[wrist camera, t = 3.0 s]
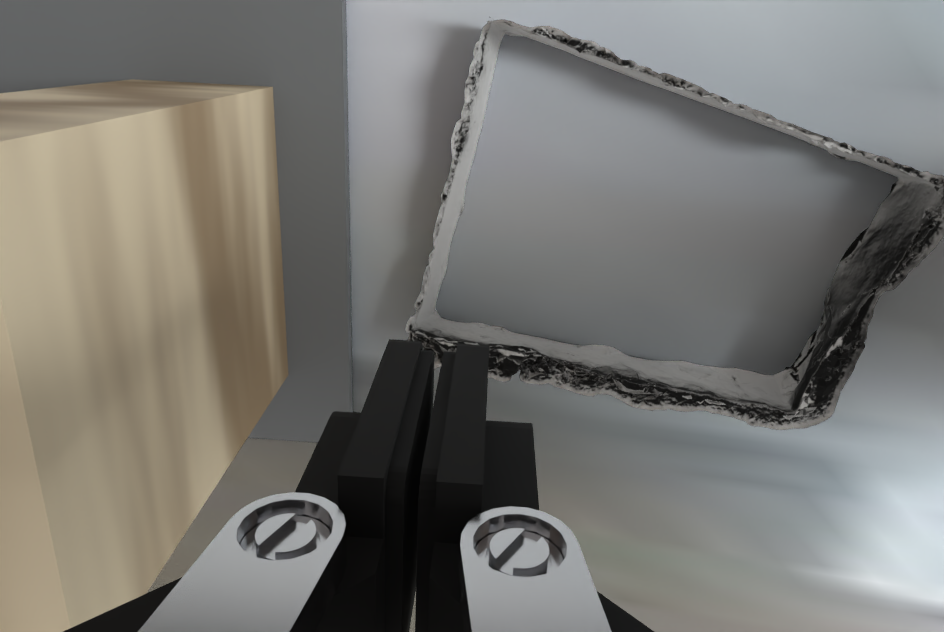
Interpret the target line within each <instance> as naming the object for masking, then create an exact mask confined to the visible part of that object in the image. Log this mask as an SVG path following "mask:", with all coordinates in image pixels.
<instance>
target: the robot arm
mask: <svg viewBox="0 0 944 632" xmlns="http://www.w3.org/2000/svg"><path fill="white" fill-rule="evenodd" d="M488 362H489V346H488V345H472V344H457V348H456V352H447V351H444V353H443V359H442V364H441V369H440V374H439V380H438V385H437V390H436V395H435V401H434V406H433V388H434V351H430V350H423V344H422V342H421V341H405V340H389V341H388V344H387V347H386V349H385V352H384V354H383V357H382V360H381V362H380V365H379V368H378V370H377V373H376V375H375V378H374V381H373V383H372V386H371V389H370V391H369V394H368V396H367V399H366V402H365V404H364V407H363V410H362V412H361V413H358V412H342V411H334V412H333V413H332V414H331V416H330V418H329V420H328V422H327V424H326V426H325V428H324V431H323V433H322V435H321V437H320V439H319V441H318V444H317V446H316V448H315V450H314V452H313V454H312V457H311V459H310V461H309V463H308V465H307V468H306V470H305V472H304V474H303V476H302V478H301V481H300V483H299V485H298V487H297V489H296V491H295V492H290V493H282V494H274V495H271V496H268V497H265V498H261V499H258V500H256V501H254V502H252V503H250V504H249V505H247V506H245V507H243V508H242V509H240V510H239V511H238V512H237V513H236V514H235V515H234V516H233V517H232V518H231V519H230V520H229V521H228V522H227V523H226V525H225V526H224V527H223V528H222V530H221V531H220V532H219V533H218V534H217V536H216V537H215V538H214V539H213V541H212V542H211V543H210V544H209V545H208V547H207V548H206V549H205V550H204V552H203V553H202V554H201V555H200V556H199V558H198V559H197V560H196V561H195V563H194V564H193V565H192V566H191V567H190V569H189V570H188V571H187V572H186V574H185V575H184V576H183V577H182V578H180V579H177V580H175V581H173V582H171V583H169V584H166V585H164V586H162V587H160V588H158V589H155V590H153V591H151V592H149V593H147V594H144V595H142V596H140V597H138V598H136V599H133V600H131V601H129V602H127V603H125V604H122V605H120V606H118V607H116V608H114V609H111V610H109V611H107V612H105V613H103V614H101V615H98V616H96V617H94V618H92V619H90V620H87V621H85V622H83V623H81V624H79V625H76V626H74V627H72V628H70V629H68V630H65V631H63V632H409V628H410V622H411V616H412V609H413V603H414V597H415V591H416V622H415V632H654V631H652V630H651V629H650V628H648V627H647V626H645V625H644V624H643V623H641V622H640V621H638V620H637V619H635V618H634V617H633V616H631V615H630V614H628V613H627V612H626V611H624V610H623V609H621V608H620V607H619V606H617V605H616V604H614V603H613V602H611V601H610V600H609V599H607V598H606V597H604V596H603V595H602V594H600V593H599V592H597V591H596V588H595V586H594V583H593V580H592V577H591V575H590V572H589V569H588V567H587V564H586V561H585V559H584V556H583V553H582V550H581V548H580V545H579V542H578V540H577V539H576V537H575V535H574V534H573V532H572V530H571V529H570V528H569V527H567V526H566V525H565V524H564V523H563V522H562V521H560V520H559V519H557V518H555V517H553V516H551V515H549V514H547V513H545V512H542V511H539V503H538V490H537V477H536V464H535V450H534V437H533V426H532V423H518V422H502V421H486V405H487V383H488Z"/></svg>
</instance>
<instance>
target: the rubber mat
mask: <svg viewBox="0 0 944 632" xmlns="http://www.w3.org/2000/svg"><path fill="white" fill-rule="evenodd" d="M131 79H135V80H153V81H172V82H191V83H210V84H229V85H248V86H267V87H273V100H274V118H275V137H276V155H277V174H278V192H279V211H280V229H281V248H282V266H283V285H284V303H285V321H286V340H287V358H288V376H287V378H286V379H285V381H284V382H283V384H282V385H281V387H280V389H279V390H278V392H277V393H276V395H275V396H274V398H273V399H272V401H271V402H270V404H269V405H268V407H267V409H266V410H265V412H264V413H263V415H262V416H261V418H260V419H259V421H258V422H257V424H256V425H255V427H254V429H253V430H252V432H251V433H250V435H249V436H248V438H257V439H272V440H287V441H303V442H318V441H319V439H320V437H321V435H322V433H323V431H324V428H325V426H326V424H327V422H328V420H329V418H330V416H331V414H332V413H333V412H334V411H342V412H353V392H352V333H351V275H350V216H349V157H348V99H347V40H346V0H0V93H8V92H17V91H27V90H36V89H46V88H55V87H65V86H74V85H84V84H93V83H103V82H112V81H122V80H131Z"/></svg>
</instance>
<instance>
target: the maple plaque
mask: <svg viewBox="0 0 944 632" xmlns="http://www.w3.org/2000/svg"><path fill="white" fill-rule="evenodd" d="M287 376H288V358H287V340H286V321H285V303H284V285H283V266H282V248H281V229H280V211H279V192H278V174H277V155H276V137H275V118H274V100H273V87H267V86H248V85H229V84H210V83H191V82H172V81H153V80H135V79H131V80H122V81H112V82H103V83H93V84H84V85H74V86H65V87H55V88H46V89H36V90H27V91H17V92H8V93H0V632H63V631H65V630H68V629H70V628H72V627H74V626H76V625H79V624H81V623H83V622H85V621H87V620H90V619H92V618H94V617H96V616H98V615H101V614H103V613H105V612H107V611H109V610H111V609H114V608H116V607H118V606H120V605H122V604H125V603H127V602H129V601H131V600H133V599H136V598H138V597H140V596H142V595H144V594H146V593H147V592H148V590H149V589H150V587H151V585H152V584H153V582H154V581H155V579H156V578H157V576H158V575H159V573H160V572H161V570H162V569H163V567H164V565H165V564H166V562H167V561H168V559H169V558H170V556H171V555H172V553H173V552H174V550H175V549H176V547H177V545H178V544H179V542H180V541H181V539H182V538H183V536H184V535H185V533H186V532H187V530H188V529H189V527H190V525H191V524H192V522H193V521H194V519H195V518H196V516H197V515H198V513H199V512H200V510H201V509H202V507H203V505H204V504H205V502H206V501H207V499H208V498H209V496H210V495H211V493H212V492H213V490H214V489H215V487H216V485H217V484H218V482H219V481H220V479H221V478H222V476H223V475H224V473H225V472H226V470H227V469H228V467H229V465H230V464H231V462H232V461H233V459H234V458H235V456H236V455H237V453H238V452H239V450H240V449H241V447H242V445H243V444H244V442H245V441H246V439H247V438H248V436H249V435H250V433H251V432H252V430H253V429H254V427H255V425H256V424H257V422H258V421H259V419H260V418H261V416H262V415H263V413H264V412H265V410H266V409H267V407H268V405H269V404H270V402H271V401H272V399H273V398H274V396H275V395H276V393H277V392H278V390H279V389H280V387H281V385H282V384H283V382H284V381H285V379H286V378H287Z"/></svg>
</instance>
